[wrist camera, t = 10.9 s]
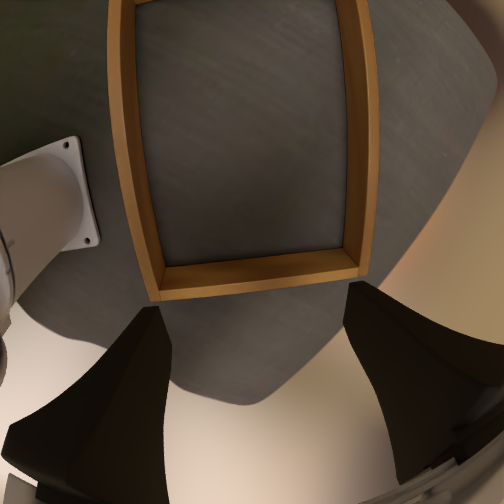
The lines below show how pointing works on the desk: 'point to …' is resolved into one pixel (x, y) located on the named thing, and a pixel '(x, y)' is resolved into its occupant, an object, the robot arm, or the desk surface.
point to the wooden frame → (264, 268)
